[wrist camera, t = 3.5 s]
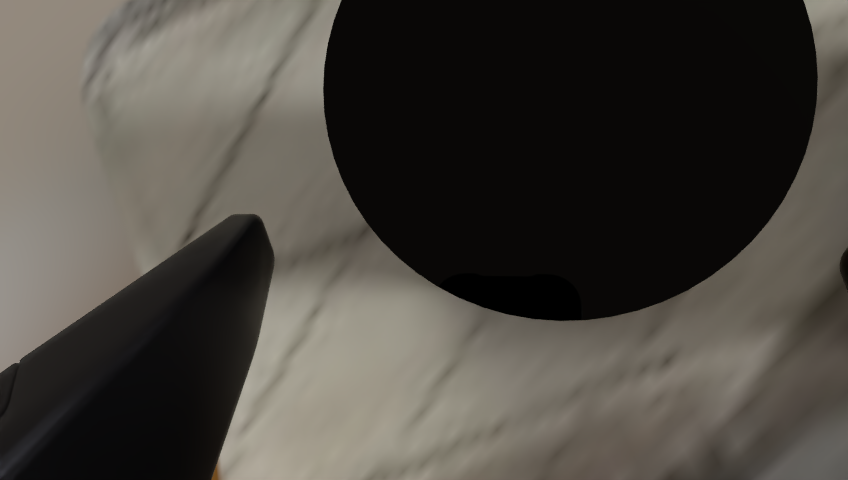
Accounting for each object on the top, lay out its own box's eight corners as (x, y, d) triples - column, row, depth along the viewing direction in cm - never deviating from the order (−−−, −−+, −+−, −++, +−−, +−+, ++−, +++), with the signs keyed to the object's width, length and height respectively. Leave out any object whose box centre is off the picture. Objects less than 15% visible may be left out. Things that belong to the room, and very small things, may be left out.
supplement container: (618, 106, 17) (839, -148, 7) (598, 303, 17) (799, 355, 6) (423, 90, 18) (351, -162, 7) (400, 279, 17) (292, 290, 7)
